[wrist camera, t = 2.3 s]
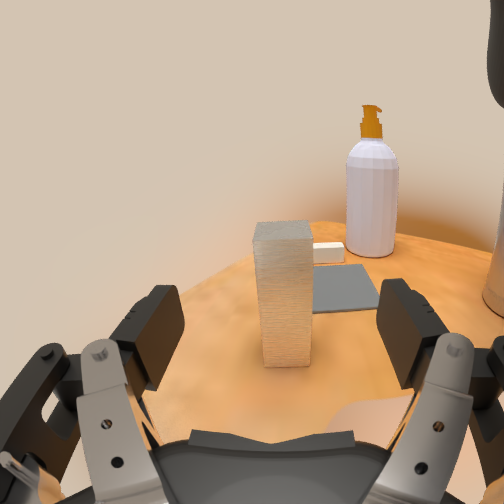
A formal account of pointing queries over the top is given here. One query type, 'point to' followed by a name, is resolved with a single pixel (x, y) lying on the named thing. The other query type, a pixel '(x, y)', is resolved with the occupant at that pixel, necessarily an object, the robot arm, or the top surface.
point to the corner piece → (328, 252)
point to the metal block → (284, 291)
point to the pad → (343, 289)
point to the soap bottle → (371, 191)
